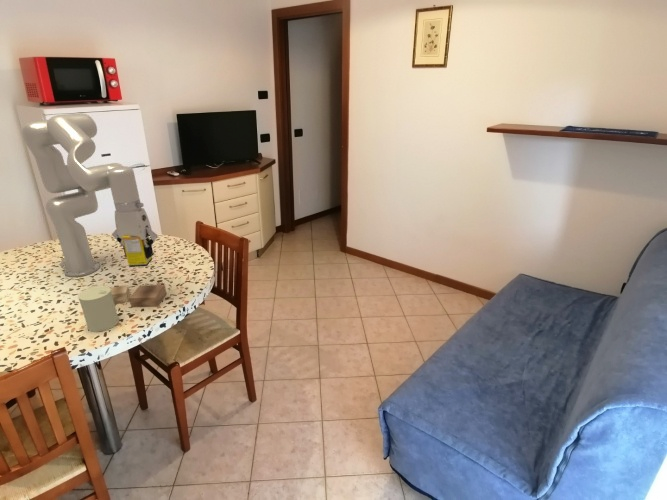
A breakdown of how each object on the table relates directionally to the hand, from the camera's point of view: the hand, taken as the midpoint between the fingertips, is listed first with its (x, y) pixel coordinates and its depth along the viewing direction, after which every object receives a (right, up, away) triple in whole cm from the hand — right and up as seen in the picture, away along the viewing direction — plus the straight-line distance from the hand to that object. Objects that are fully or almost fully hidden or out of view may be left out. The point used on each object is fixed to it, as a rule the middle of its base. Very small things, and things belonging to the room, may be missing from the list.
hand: (139, 255), depth 138 cm
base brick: (0, -16, +7) cm, 18 cm away
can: (-9, -22, -6) cm, 25 cm away
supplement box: (0, -3, +1) cm, 3 cm away
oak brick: (-11, -16, +8) cm, 21 cm away
